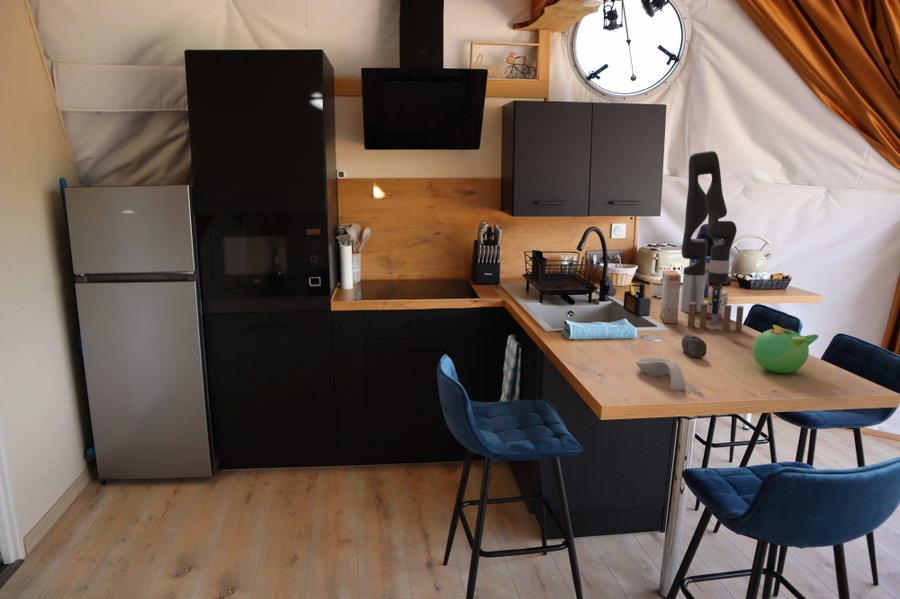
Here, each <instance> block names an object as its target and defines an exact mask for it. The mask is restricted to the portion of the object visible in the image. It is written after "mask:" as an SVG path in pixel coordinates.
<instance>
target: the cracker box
mask: <svg viewBox="0 0 900 599" xmlns="http://www.w3.org/2000/svg"><path fill="white" fill-rule="evenodd" d="M662 278H663V282H662V295H661V298H660V309H659V310H660V312H659V317H660V319H661V321H662V323H663V324H671V323H674V324H673V325H675V324H676V325H677V324H678V316H679V314H678V313H679V303H680V292H681V291H680V290H681V280H682V279H681V278H682V276H681V274H680V273H679V272H678V271H676V270H663V271H662Z"/></svg>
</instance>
